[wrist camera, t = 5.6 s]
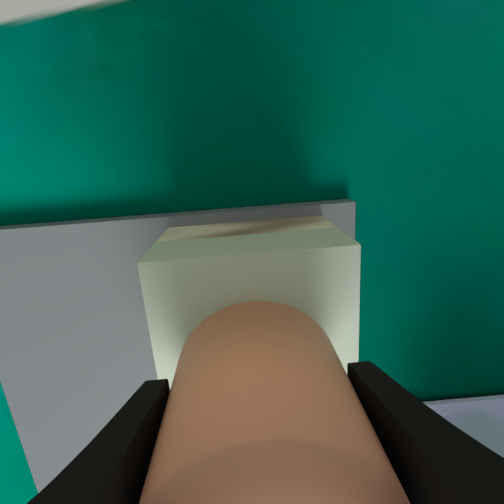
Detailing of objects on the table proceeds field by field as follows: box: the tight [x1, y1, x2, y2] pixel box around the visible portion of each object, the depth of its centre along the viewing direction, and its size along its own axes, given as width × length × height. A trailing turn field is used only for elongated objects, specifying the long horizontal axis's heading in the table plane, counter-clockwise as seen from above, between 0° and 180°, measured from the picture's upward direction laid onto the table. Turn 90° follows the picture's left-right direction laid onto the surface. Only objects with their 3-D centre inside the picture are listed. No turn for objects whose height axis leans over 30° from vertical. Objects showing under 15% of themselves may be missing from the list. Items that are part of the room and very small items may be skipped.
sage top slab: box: [137, 228, 361, 389], centre depth 13 cm, size 7×7×2 cm
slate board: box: [0, 199, 356, 493], centre depth 19 cm, size 18×20×1 cm
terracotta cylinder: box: [139, 301, 410, 504], centre depth 8 cm, size 5×5×5 cm
